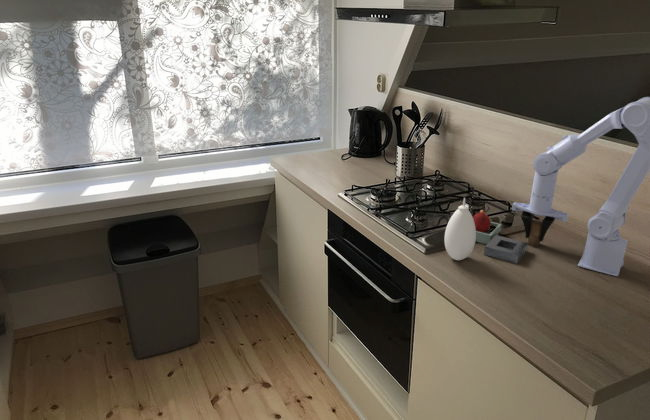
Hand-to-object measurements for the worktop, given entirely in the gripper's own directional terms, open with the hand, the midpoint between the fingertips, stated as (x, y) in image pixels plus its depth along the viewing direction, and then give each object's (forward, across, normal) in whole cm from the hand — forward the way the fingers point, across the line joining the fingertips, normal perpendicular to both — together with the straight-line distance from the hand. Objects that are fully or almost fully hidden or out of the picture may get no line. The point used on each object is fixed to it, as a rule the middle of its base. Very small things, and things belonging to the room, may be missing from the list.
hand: (534, 238), depth 146 cm
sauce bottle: (+2, +15, +21) cm, 26 cm away
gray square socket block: (+2, +5, +10) cm, 11 cm away
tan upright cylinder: (+2, 0, 0) cm, 2 cm away
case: (+2, +15, +3) cm, 15 cm away
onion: (+2, +15, +3) cm, 15 cm away
